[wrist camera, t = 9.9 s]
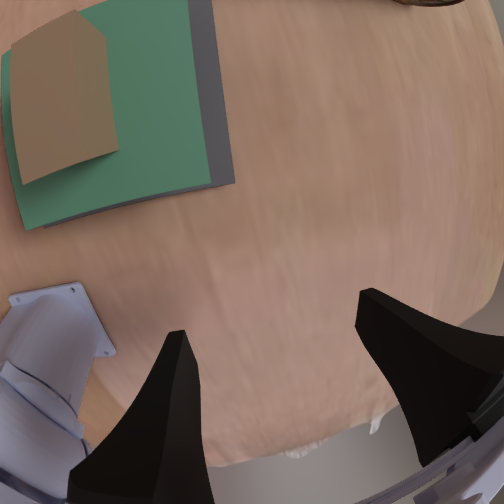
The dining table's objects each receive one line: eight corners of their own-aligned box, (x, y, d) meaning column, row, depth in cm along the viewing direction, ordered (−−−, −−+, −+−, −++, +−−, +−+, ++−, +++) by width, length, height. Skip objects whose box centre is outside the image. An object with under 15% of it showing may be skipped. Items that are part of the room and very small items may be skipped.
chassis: (50, 223, 16) (24, 245, 12) (25, 53, 10) (-4, 44, 6) (233, 180, 17) (242, 194, 14) (208, -8, 11) (212, -37, 8)
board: (34, 224, 12) (-13, 263, 8) (10, 57, 7) (-40, 48, 3) (210, 179, 13) (216, 206, 9) (186, -11, 8) (183, -62, 4)
